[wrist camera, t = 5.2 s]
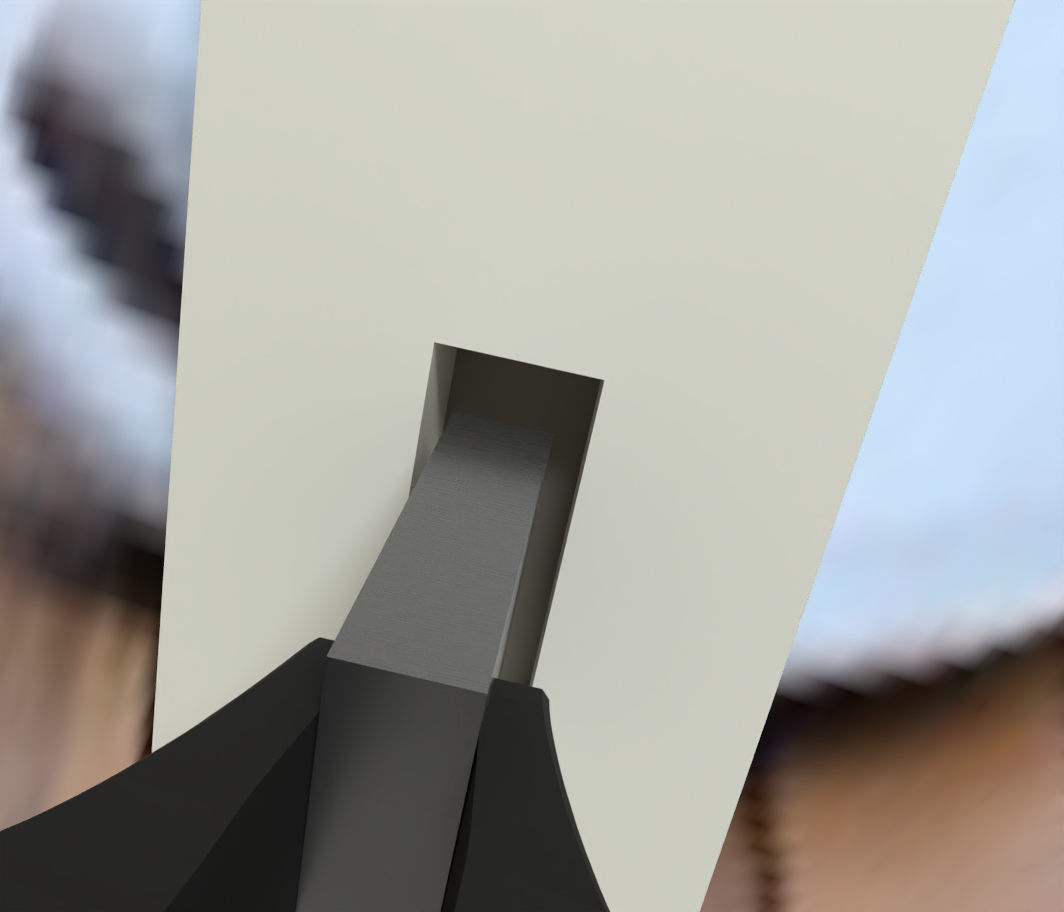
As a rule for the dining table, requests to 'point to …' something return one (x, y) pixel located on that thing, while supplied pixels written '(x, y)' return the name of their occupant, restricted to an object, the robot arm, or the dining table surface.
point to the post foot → (555, 344)
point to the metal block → (419, 675)
